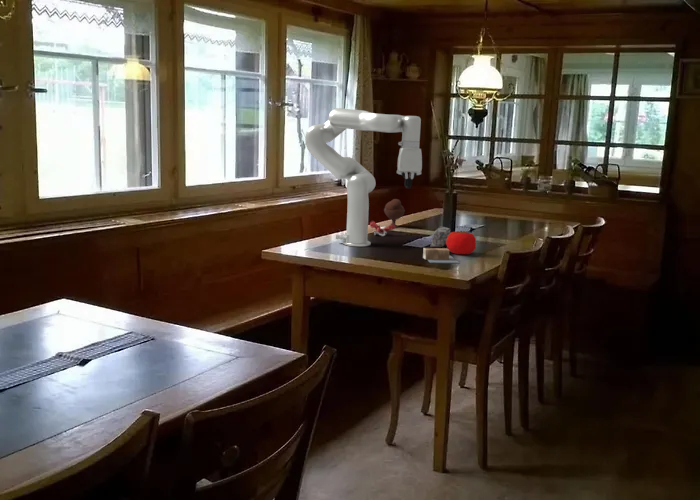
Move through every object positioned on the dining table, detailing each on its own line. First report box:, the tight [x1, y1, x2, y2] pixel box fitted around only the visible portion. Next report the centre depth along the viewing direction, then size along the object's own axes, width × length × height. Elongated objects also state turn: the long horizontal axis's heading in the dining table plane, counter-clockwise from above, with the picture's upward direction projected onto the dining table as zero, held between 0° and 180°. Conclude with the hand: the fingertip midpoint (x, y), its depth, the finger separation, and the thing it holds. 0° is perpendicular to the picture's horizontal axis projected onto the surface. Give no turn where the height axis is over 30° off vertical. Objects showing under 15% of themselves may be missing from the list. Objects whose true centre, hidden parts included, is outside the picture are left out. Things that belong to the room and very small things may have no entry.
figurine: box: [368, 220, 396, 237], centre depth 357 cm, size 15×12×7 cm
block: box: [422, 247, 451, 261], centre depth 304 cm, size 4×4×10 cm
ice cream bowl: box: [383, 198, 406, 229], centre depth 381 cm, size 11×11×15 cm
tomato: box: [445, 230, 477, 255], centre depth 318 cm, size 11×13×10 cm
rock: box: [429, 225, 451, 248], centre depth 335 cm, size 16×8×10 cm, turn 146°
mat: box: [426, 254, 460, 264], centre depth 305 cm, size 12×14×1 cm
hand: (408, 187), depth 319 cm, fingers closed
